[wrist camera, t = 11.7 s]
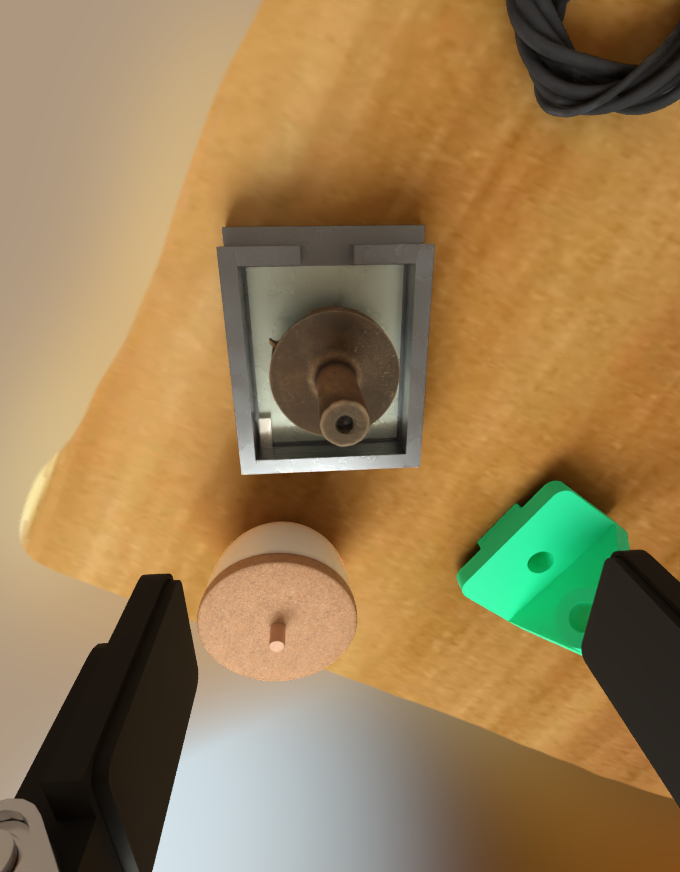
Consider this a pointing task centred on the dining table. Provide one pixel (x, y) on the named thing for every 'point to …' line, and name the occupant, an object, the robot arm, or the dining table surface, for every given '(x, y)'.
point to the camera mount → (544, 564)
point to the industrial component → (334, 374)
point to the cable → (589, 67)
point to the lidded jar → (278, 604)
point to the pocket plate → (294, 299)
